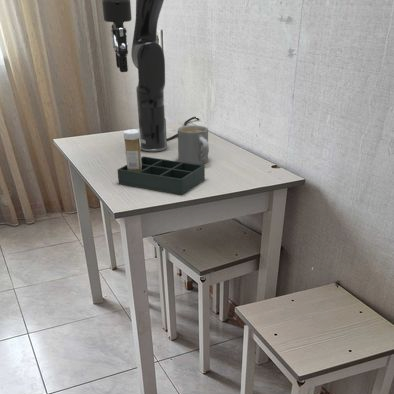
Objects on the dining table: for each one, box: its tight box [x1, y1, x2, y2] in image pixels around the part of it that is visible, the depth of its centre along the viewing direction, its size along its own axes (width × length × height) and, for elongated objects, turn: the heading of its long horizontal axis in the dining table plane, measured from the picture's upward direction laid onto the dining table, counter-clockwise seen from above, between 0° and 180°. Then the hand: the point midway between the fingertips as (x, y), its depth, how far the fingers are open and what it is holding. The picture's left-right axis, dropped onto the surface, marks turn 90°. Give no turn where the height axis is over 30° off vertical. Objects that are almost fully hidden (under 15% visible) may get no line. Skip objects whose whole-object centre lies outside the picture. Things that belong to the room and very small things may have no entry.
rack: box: [116, 156, 206, 196], centre depth 143 cm, size 15×22×4 cm
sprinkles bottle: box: [122, 129, 142, 172], centre depth 140 cm, size 5×5×13 cm
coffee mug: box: [177, 124, 210, 165], centre depth 157 cm, size 13×10×10 cm
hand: (122, 69), depth 137 cm, fingers open, 8 cm apart
